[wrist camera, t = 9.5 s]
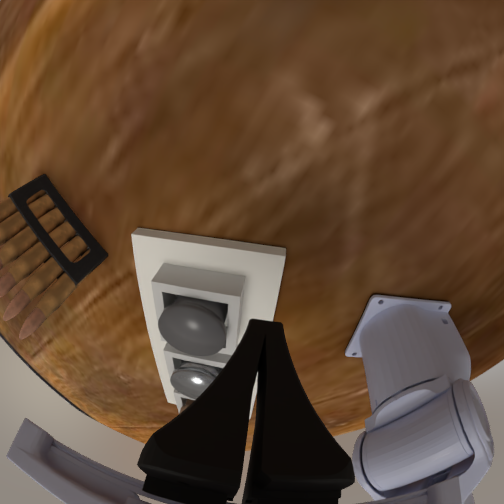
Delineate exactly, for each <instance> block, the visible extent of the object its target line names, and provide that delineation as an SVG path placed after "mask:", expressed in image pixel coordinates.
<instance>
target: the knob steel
mask: <svg viewBox="0 0 504 504" xmlns="http://www.w3.org/2000/svg"><path fill="white" fill-rule="evenodd" d="M222 369H223V368H220V367H215V366H210V365H205V364H200V363H195V362H190V361H186V360H181V363H180V366H179V368H177V369H175V370H174V371H173V373H172V376H171V378H170V382H171V385H172V386H173V387H174V388H175V389H176V390H177V391H178V392H179V393H181V394H183V395H185V396H187V397H189V398H192V399H195V400H196V399H197V398H198V397H199V396H200V395H201V394H202V393H203V392H204V391H205V390H206V388H207V387H208V386H209V385H210V384H211V383H212V382H213V380H214V379H215V378H216V377H217V376H218V374H219V373H220V372H221V370H222Z"/></svg>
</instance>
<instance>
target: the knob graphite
mask: <svg viewBox="0 0 504 504" xmlns="http://www.w3.org/2000/svg"><path fill="white" fill-rule="evenodd" d="M227 312H228V304H227V303H221V302H215V301H209V300H203V299H198V298H192V297H187V296H181V295H177V296H176V298H175V300H174V302H173V303H172V304H170V305H168V306H167V307H166V308H165V309H164V310H163V312H162V314H161V316H160V318H159V320H158V328H159V331H160V333H161V335H162V337H163V338H164V339H165V340H166V341H167V342H168V343H169V344H170V345H171V346H172V347H174V348H175V349H177V350H179V351H181V352H183V353H186V354H189V355H193V356H210V355H214V354H216V353H218V352H219V351H220V350H221V349H222V348H223V347H224V344H225V340H226V336H227V331H226V327H225V325H224V323H225V320H226V316H227Z"/></svg>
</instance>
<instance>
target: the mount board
mask: <svg viewBox="0 0 504 504" xmlns="http://www.w3.org/2000/svg"><path fill="white" fill-rule="evenodd" d="M131 235H132V244H133V251H134V258H135V265H136V271H137V277H138V283H139V289H140V294H141V300H142V305H143V310H144V314H145V319H146V324H147V328H148V332H149V337H150V341H151V345H152V349H153V353H154V356H155V360H156V364H157V367H158V371H159V375H160V378H161V381H162V385H163V388H164V391H165V394H166V397H167V401H168V402H169V403H172V404H176V405H177V408H178V411H179V412H180V409H181V407H182V406H184V405H185V404H186V401H187V399H191V400H195V399H192V398H189V397H187V396H185V395H183V394H181V393H179V392H178V391H177V390H176V389H175V388H174V387H173V386H172V385H171V382H170V378H171V376H172V373H173V371H174V370H175V369H177V368H179V366H180V363H181V360H186V361H190V362H195V363H200V364H205V365H210V366H215V367H220V368H224V366H225V365H226V363H227V362H228V361H229V359H230V358H231V356H232V355H233V353H234V351H235V350H236V348H237V346H238V345H239V343H240V341H241V339H242V337H243V335H244V333H245V331H246V329H247V326H248V323H249V320H250V319H252V318H253V319H260V320H267V321H273V318H274V313H275V308H276V303H277V298H278V293H279V289H280V284H281V278H282V273H283V268H284V263H285V258H286V248H281V247H274V246H267V245H261V244H254V243H247V242H240V241H232V240H225V239H218V238H211V237H204V236H197V235H189V234H182V233H175V232H167V231H160V230H152V229H145V228H137V229H136V230H135V231H134V232H133V233H132V234H131ZM177 295H181V296H187V297H192V298H198V299H203V300H209V301H215V302H221V303H227V304H228V312H227V316H226V320H225V323H224V325H225V327H226V331H227V336H226V340H225V344H224V347H223V348H222V349H221V350H220V351H219V352H218V353H216V354H214V355H210V356H193V355H189V354H186V353H183V352H181V351H179V350H177V349H175V348H174V347H172V346H171V345H170V344H169V343H168V342H167V341H166V340H165V339H164V338H163V337H162V335H161V333H160V331H159V328H158V320H159V318H160V316H161V314H162V312H163V310H164V309H165V308H166V307H167V306H168V305H170V304H172V303H173V302H174V300H175V298H176V296H177ZM257 378H258V372H257V376H256V380H255V384H254V388H253V393H252V400H251V408H250V416H249V419H250V417H251V413H252V409H253V405H254V401H255V397H256V393H257Z"/></svg>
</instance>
